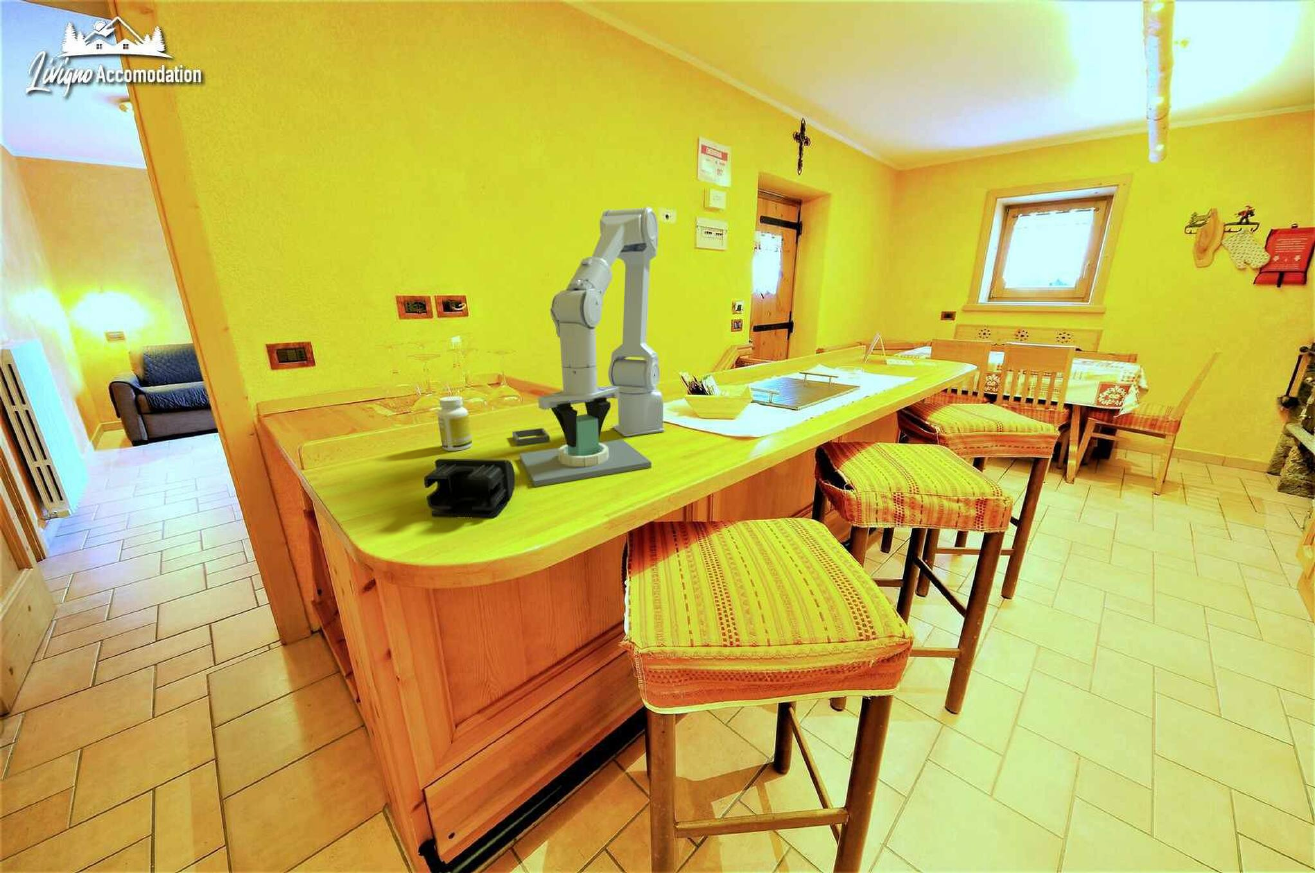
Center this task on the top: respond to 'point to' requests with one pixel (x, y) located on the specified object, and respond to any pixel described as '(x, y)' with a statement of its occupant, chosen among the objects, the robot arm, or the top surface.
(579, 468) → the socket board
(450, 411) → the supplement bottle
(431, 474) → the end cap
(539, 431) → the dark grey square frame
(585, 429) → the plug
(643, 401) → the robot arm
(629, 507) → the top surface
